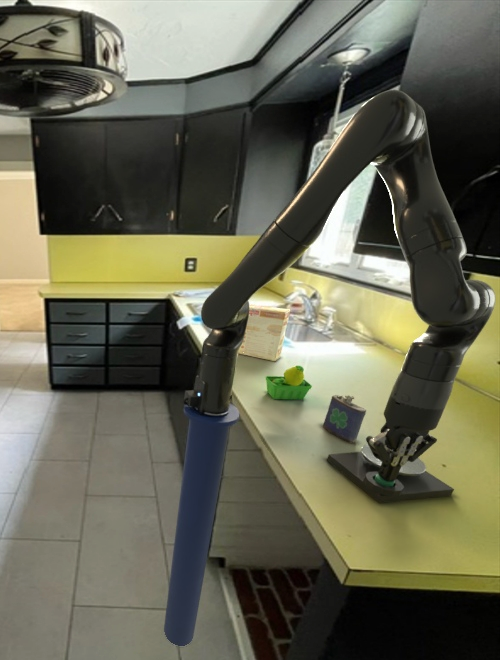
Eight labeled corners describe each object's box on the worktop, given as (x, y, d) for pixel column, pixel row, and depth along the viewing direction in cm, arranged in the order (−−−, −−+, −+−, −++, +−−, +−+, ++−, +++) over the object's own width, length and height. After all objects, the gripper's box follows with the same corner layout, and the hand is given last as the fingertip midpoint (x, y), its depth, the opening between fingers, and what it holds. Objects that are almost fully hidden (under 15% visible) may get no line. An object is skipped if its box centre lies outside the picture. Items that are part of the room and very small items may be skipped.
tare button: (382, 490, 69) (385, 483, 69) (369, 480, 72) (372, 474, 71) (396, 489, 70) (399, 482, 69) (383, 479, 72) (385, 472, 72)
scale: (378, 504, 69) (383, 492, 67) (324, 460, 82) (328, 448, 80) (453, 497, 71) (459, 484, 69) (389, 454, 84) (393, 443, 83)
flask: (358, 442, 88) (371, 403, 84) (348, 444, 88) (361, 404, 84) (328, 424, 97) (339, 387, 92) (319, 425, 96) (329, 388, 92)
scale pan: (391, 478, 71) (392, 475, 71) (348, 447, 81) (349, 445, 81) (439, 473, 73) (440, 471, 72) (391, 443, 83) (392, 441, 82)
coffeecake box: (280, 357, 146) (291, 309, 139) (275, 361, 141) (285, 312, 134) (243, 349, 155) (251, 304, 148) (237, 353, 150) (245, 306, 143)
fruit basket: (297, 391, 116) (305, 357, 112) (311, 403, 108) (321, 368, 104) (261, 390, 116) (268, 357, 112) (273, 402, 108) (281, 367, 104)
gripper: (429, 387, 68) (398, 464, 74) (366, 391, 66) (340, 469, 73) (473, 405, 61) (434, 488, 68) (403, 410, 59) (371, 494, 66)
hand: (386, 478), depth 70 cm, fingers closed
